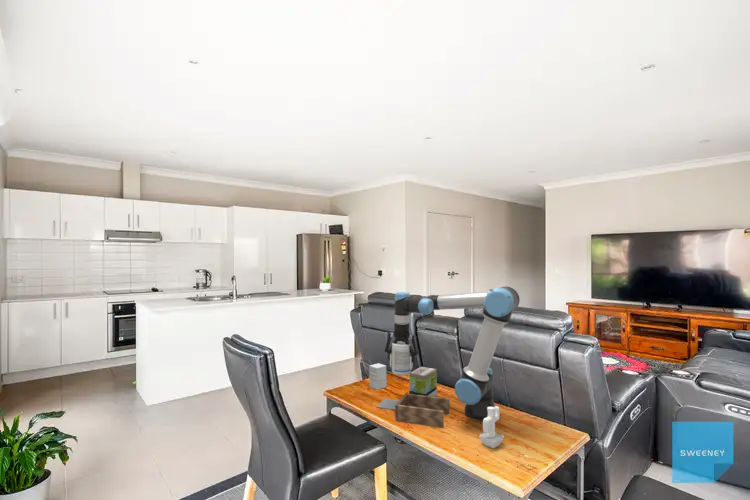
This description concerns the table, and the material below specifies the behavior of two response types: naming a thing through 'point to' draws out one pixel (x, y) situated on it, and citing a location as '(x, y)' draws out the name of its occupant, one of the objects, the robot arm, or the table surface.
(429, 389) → the tea box
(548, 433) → the table surface
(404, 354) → the supplement tub
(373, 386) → the supplement box
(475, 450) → the table surface
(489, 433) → the figurine
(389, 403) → the grey mat
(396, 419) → the walnut box
